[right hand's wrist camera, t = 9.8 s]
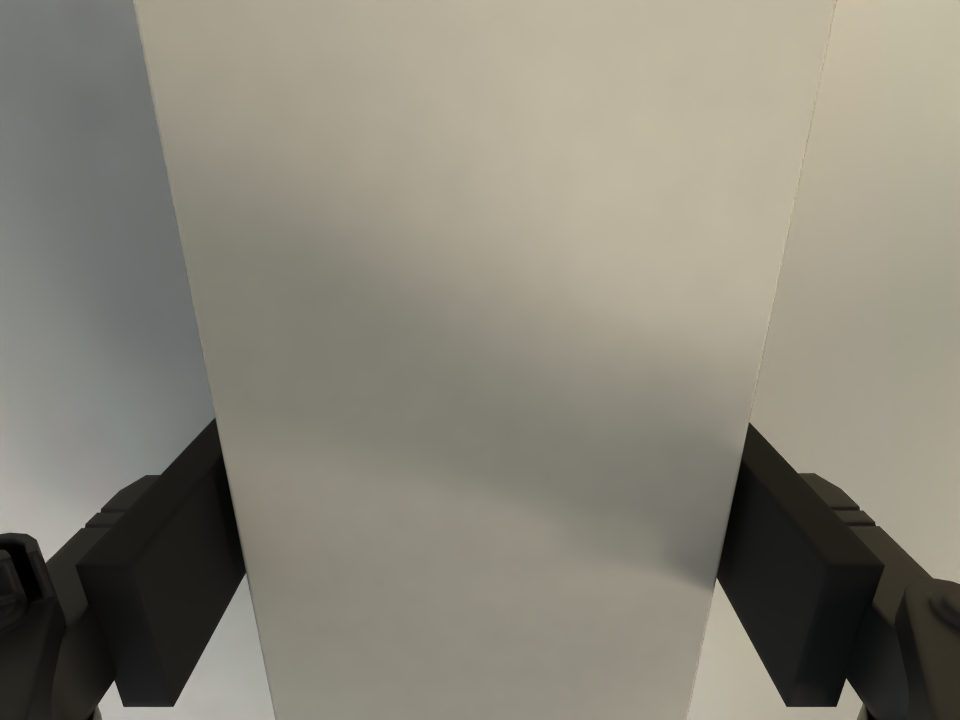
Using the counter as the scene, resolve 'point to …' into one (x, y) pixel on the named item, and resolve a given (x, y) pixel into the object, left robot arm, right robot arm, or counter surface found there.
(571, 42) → the wide beam
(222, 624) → the counter surface
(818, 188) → the counter surface
